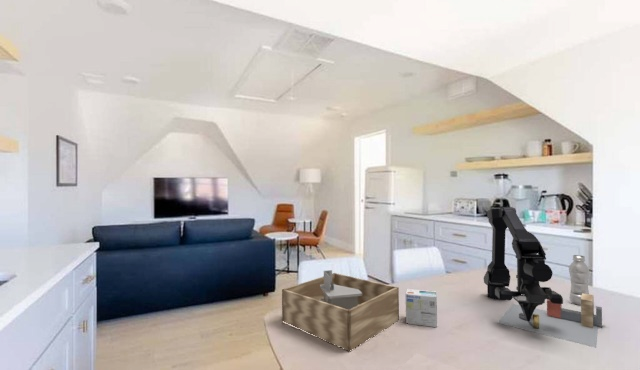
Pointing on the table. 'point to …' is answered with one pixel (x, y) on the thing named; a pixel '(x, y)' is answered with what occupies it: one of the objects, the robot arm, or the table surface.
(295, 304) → the wooden crate
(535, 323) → the metal measuring spoon
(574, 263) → the plastic bottle
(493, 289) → the robot arm
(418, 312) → the light bulb box
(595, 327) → the board
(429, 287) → the table surface
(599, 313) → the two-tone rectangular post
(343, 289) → the architectural model
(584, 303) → the tan rectangular block
